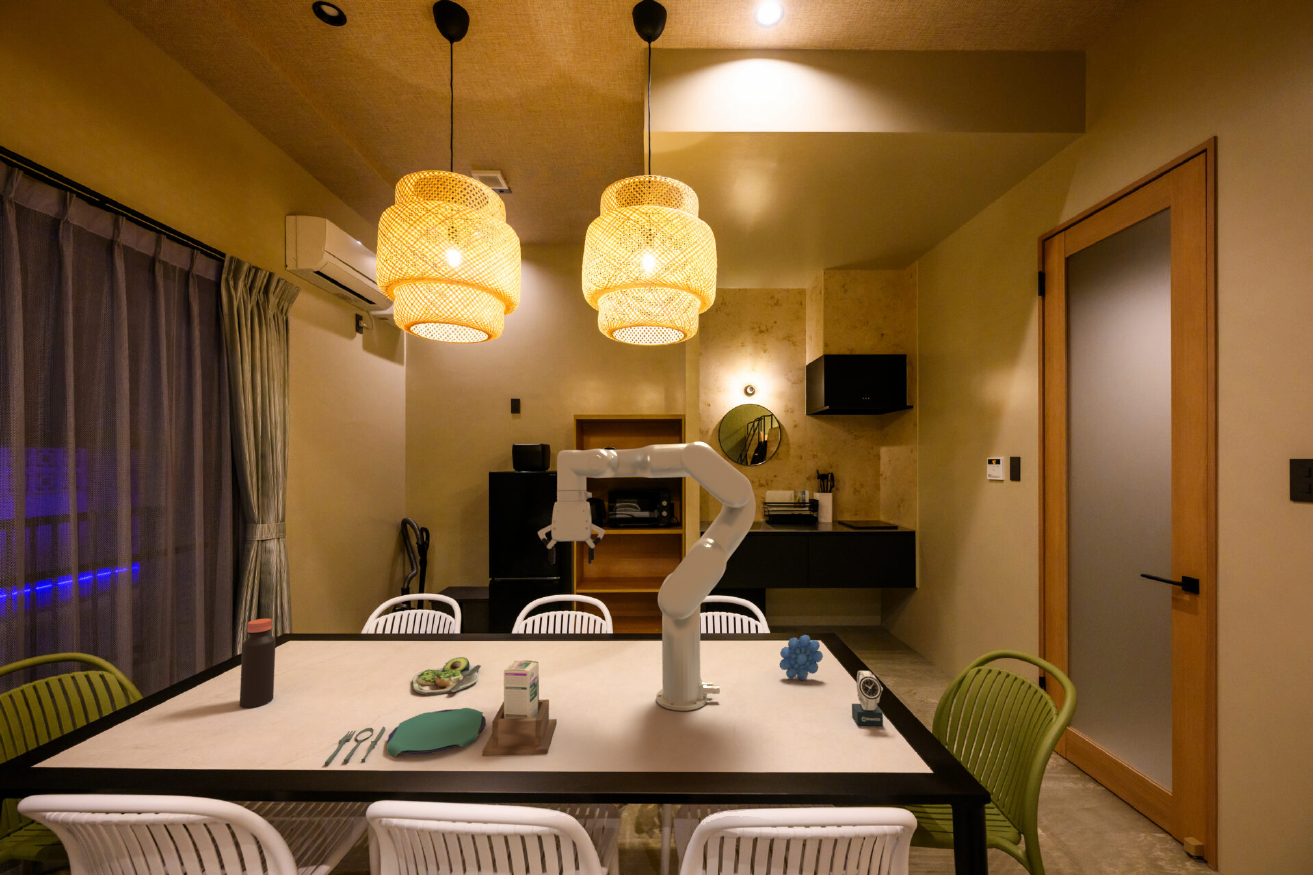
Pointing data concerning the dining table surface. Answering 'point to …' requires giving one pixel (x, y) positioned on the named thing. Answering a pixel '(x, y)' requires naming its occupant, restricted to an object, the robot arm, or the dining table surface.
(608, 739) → the dining table surface
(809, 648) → the blue knobbly flower shape
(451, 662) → the avocado toast plate
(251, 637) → the bottle
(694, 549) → the robot arm
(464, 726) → the cutlery set
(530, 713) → the syrup box
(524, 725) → the walnut holder
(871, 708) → the watch
